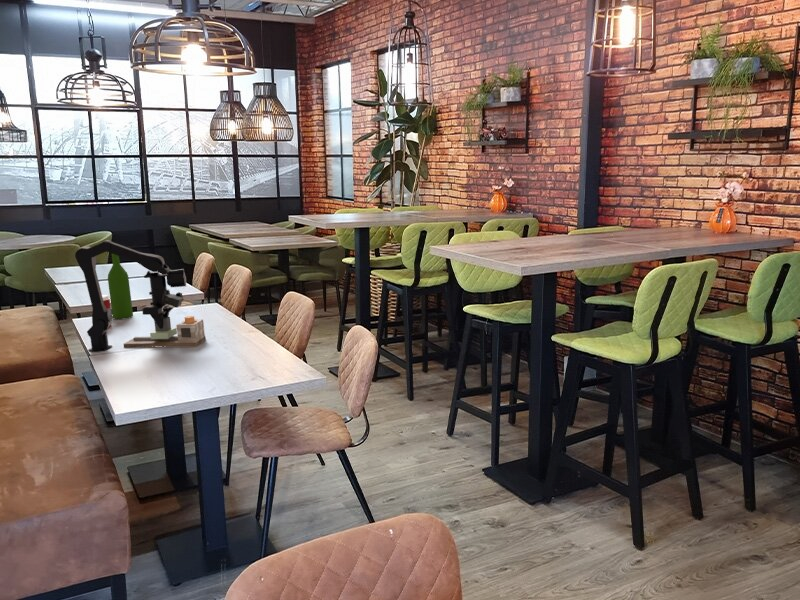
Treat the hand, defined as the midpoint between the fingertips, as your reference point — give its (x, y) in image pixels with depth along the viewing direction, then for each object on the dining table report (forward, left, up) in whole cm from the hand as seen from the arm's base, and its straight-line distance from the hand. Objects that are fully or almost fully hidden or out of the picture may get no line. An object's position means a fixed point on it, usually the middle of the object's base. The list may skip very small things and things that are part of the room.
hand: (163, 327), depth 263 cm
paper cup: (+28, +41, -7) cm, 50 cm away
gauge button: (0, -11, -1) cm, 11 cm away
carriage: (0, 0, -4) cm, 4 cm away
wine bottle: (+48, +43, -7) cm, 65 cm away
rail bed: (0, 0, -6) cm, 7 cm away
